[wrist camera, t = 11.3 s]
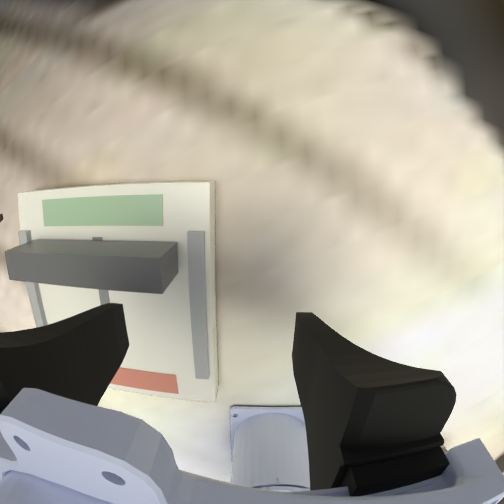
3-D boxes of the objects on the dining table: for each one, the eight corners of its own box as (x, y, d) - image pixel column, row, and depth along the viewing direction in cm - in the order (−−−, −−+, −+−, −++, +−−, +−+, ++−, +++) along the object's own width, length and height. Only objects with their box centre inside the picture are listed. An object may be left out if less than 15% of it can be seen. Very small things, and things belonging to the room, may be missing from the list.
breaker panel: (218, 383, 25) (214, 407, 22) (65, 361, 25) (51, 378, 22) (215, 181, 20) (208, 182, 17) (35, 190, 21) (13, 194, 18)
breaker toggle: (178, 272, 19) (162, 294, 16) (37, 264, 19) (9, 279, 16) (177, 242, 19) (159, 258, 15) (34, 239, 19) (4, 251, 15)
